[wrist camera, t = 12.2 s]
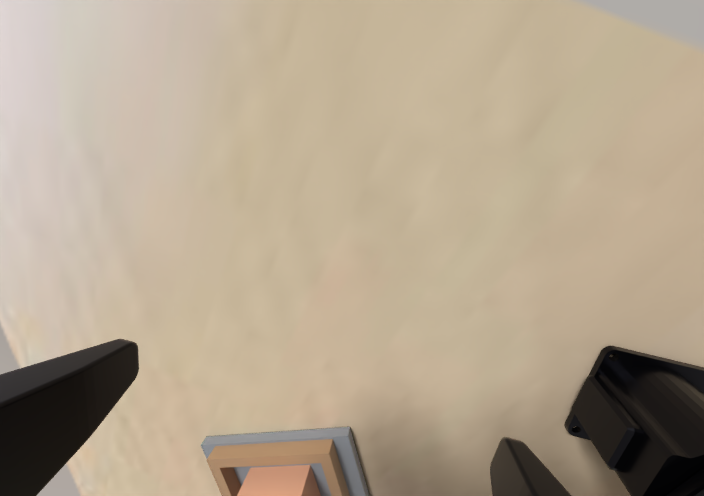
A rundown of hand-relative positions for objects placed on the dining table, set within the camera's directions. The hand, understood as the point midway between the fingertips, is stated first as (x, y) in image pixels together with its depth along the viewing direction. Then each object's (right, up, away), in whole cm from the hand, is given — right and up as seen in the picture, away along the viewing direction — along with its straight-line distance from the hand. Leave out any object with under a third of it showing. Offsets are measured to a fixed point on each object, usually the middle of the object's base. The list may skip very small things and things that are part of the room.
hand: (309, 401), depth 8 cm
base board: (-4, -15, +19) cm, 25 cm away
